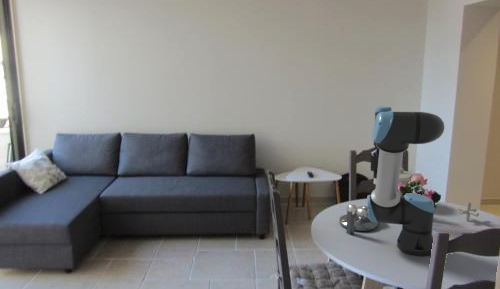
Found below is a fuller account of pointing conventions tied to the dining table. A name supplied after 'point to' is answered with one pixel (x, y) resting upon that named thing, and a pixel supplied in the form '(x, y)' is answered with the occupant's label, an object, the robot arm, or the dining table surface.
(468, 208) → the pipe connector
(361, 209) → the cover
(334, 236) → the dining table surface
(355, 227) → the turntable
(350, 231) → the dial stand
